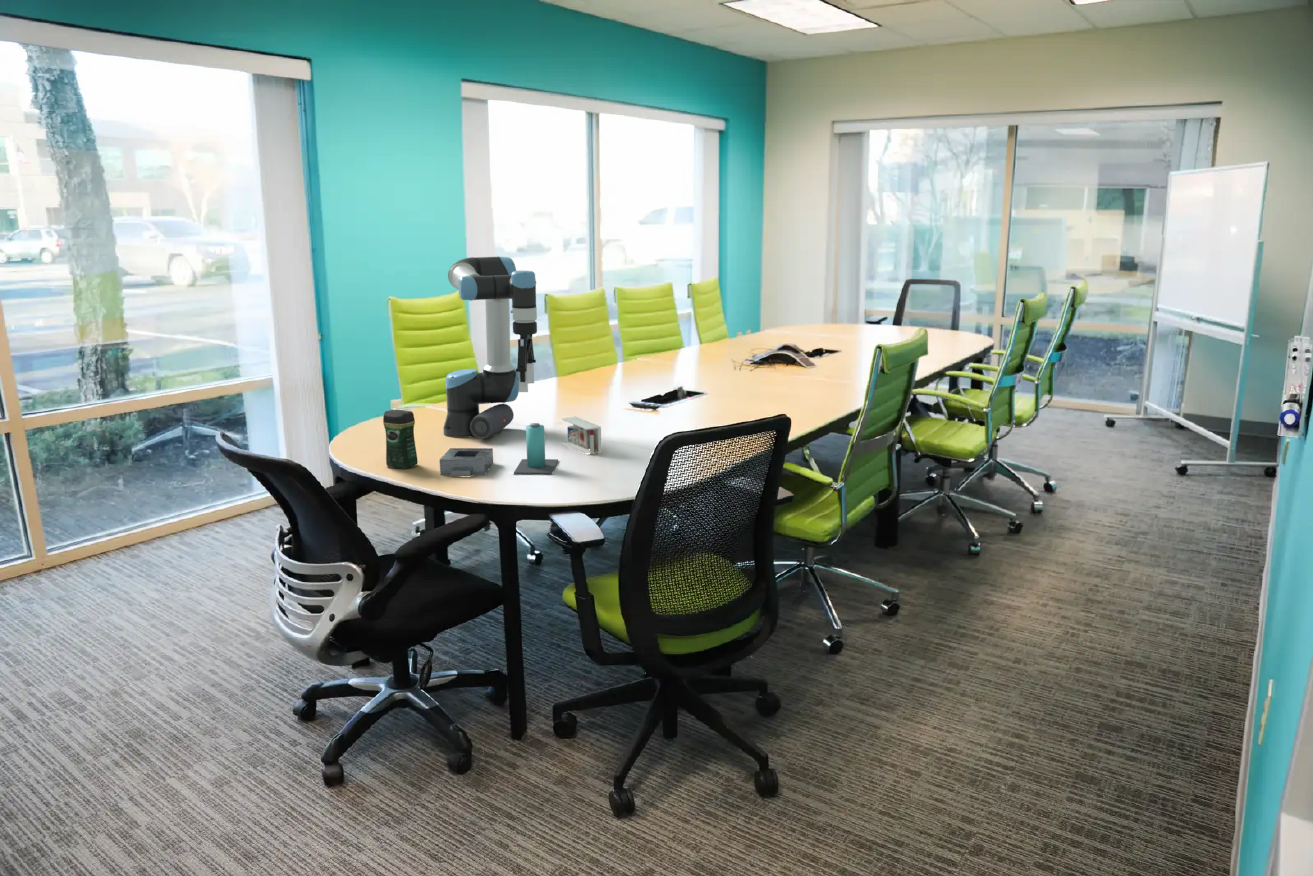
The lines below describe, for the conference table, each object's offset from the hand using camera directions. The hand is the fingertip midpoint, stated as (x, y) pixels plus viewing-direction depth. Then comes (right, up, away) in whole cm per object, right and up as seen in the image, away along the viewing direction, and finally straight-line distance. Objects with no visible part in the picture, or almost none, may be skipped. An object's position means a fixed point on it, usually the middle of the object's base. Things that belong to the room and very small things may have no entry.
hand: (526, 387), depth 295 cm
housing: (-19, -26, +3) cm, 33 cm away
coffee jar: (-41, -25, +6) cm, 49 cm away
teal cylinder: (+3, -25, +4) cm, 25 cm away
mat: (+3, -26, +4) cm, 26 cm away
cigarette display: (+16, -20, +28) cm, 38 cm away
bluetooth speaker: (-19, -15, +47) cm, 53 cm away
